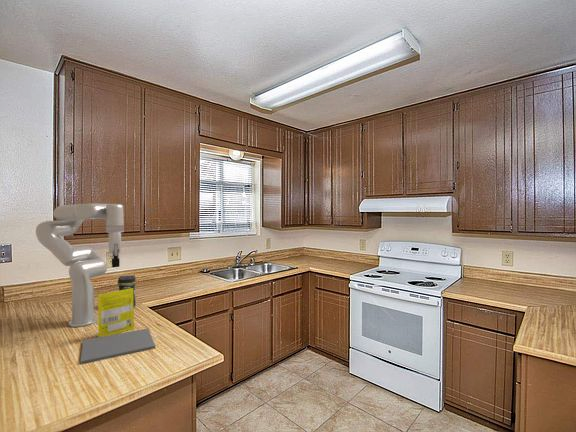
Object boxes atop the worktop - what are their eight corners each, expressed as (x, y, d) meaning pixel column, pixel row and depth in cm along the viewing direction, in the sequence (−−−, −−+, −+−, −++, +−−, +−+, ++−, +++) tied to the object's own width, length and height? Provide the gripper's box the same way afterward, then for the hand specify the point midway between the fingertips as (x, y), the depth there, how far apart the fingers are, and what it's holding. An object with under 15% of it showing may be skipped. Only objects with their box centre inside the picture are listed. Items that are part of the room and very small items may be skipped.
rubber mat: (83, 342, 135) (83, 340, 135) (148, 330, 148) (148, 328, 148) (80, 364, 116) (80, 361, 116) (155, 348, 130) (155, 345, 129)
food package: (133, 328, 150) (132, 287, 150) (134, 329, 150) (133, 288, 149) (98, 338, 139) (97, 294, 138) (99, 339, 138) (98, 295, 137)
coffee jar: (116, 309, 178) (116, 277, 178) (119, 305, 186) (118, 274, 185) (135, 307, 182) (135, 276, 181) (136, 304, 189) (136, 273, 189)
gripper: (105, 228, 155) (106, 265, 155) (106, 230, 142) (107, 270, 143) (122, 228, 159) (123, 263, 159) (124, 229, 146) (125, 268, 147)
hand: (115, 266), depth 151 cm, fingers closed
